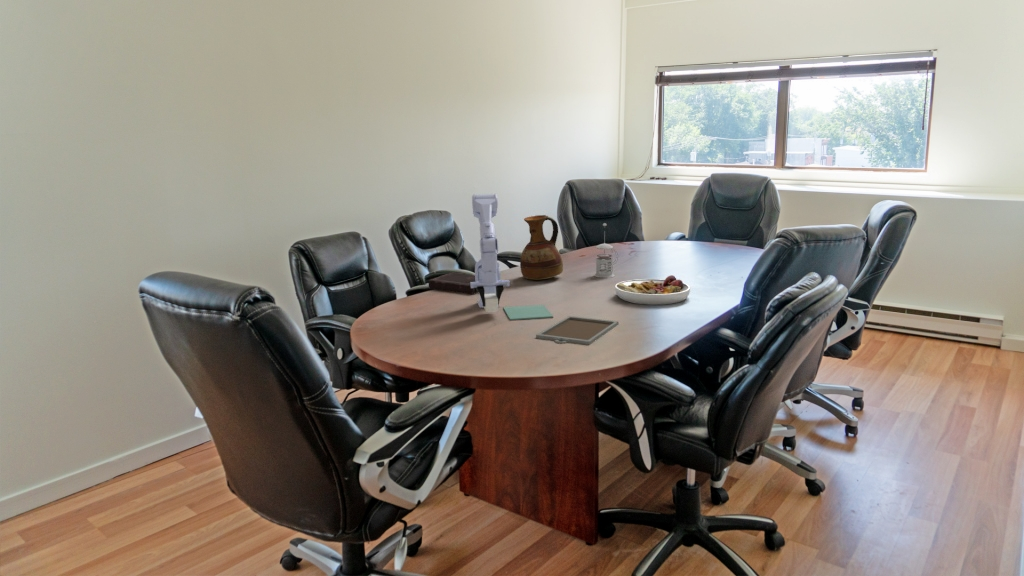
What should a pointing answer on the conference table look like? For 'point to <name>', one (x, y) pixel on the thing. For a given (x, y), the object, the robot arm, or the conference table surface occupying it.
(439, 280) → the diary
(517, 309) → the mat
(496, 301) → the card box
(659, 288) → the bowl
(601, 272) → the french press
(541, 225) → the ceramic pitcher
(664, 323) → the conference table surface
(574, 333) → the picture frame
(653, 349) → the conference table surface
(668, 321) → the conference table surface
